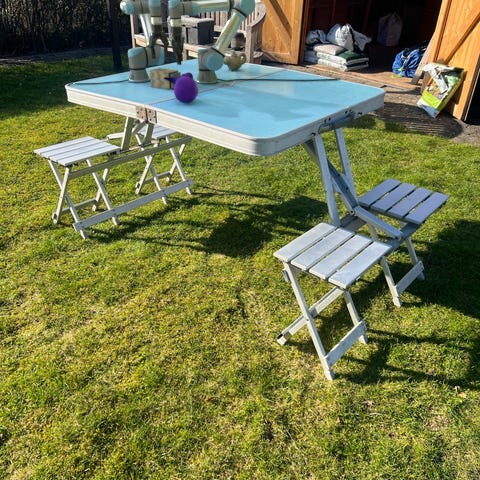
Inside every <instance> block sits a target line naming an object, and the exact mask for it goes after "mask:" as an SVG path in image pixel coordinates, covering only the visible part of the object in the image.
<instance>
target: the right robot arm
mask: <svg viewBox="0 0 480 480" xmlns="http://www.w3.org/2000/svg"><path fill="white" fill-rule="evenodd" d="M255 10H256V1H255V0H189V1H188V0H187V1H181V0H168V13H169V15H168V16H169V25H170V33H171V38H169V40H168V41H169V43H170V45H171V49H172V54H174V55H175V59H176V65H177V66H182V55H183V53H184V49H185V47H184V46H185V39H186V37H185V36H183V34H182V33H183V24H182V23H183V22H182V17H187V16H193V17H194V16H198V15H199V14H204V13H214V12H215V13H216V12H226V13H231V15H230V16H229V18H228V20H227V22H226V24H225V25H224V27H223V29H222V30H221V32H220V35H219V36H218V38H217V40H216V42H215V44H214V45H210V47H209V48H200V49H199V48H198V50H197V54H196V55H197V66H198V74H197V77H196V83H197V84H199V85H213V84H216V83H218V82H219V81H221V82H225V83H226V82H227V83H228V82H233V81H276V82H278V81H280V82H319V81H321V82H324V81H340V80H341V79H342V78H341V77H339V78H338V77H337V78H321V79H319V78H318V79H317V78H316V79H313V78H312V79H289V78H288V79H287V78H286V79H284V78H233V79H221V78H218V77H217V75H216V72H217V71H219V70H221V69H222V68H223V66H224V59H225V58H226V52H227V49H228V48H229V46H230V45H231V42H232V41H233V39H234V37H235V36H236V34H237V32H238V30H239V29H240V27H241V25H242V23H243V22H244V21H247V19H248V18H249V17H250V16H249V15H251V14H252V13H254V11H255Z"/></svg>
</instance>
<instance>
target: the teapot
mask: <svg viewBox="0 0 480 480" xmlns="http://www.w3.org/2000/svg"><path fill="white" fill-rule="evenodd" d="M241 58H242V59H241ZM246 63H247V55H246V52H241V53H239V54H238V53H237V52H236V50H232V53H231V54H230V57H229V56H225V58H224V63H223V65H225V66H227V69H228V70H229V71H231V72H233V71H234V72H235V71H238V70H239V69H241V68H242V67H243V65H245V64H246Z"/></svg>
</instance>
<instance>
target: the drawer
mask: <svg viewBox="0 0 480 480" xmlns="http://www.w3.org/2000/svg"><path fill="white" fill-rule="evenodd" d="M181 75H182V73H181V71H178V72H174V73H170V74H169V77H175V78H180V77H181ZM174 86H175V84H173V83H171V82H170V87H172V88H173V89H174Z"/></svg>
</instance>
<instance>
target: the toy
mask: <svg viewBox="0 0 480 480" xmlns="http://www.w3.org/2000/svg"><path fill="white" fill-rule="evenodd" d="M164 79H165V80H167V81H169V82H171V83H173V84H175V86H174V88H173V93H174V97H175V98H176V100H177V101H178V102H179V103H183V104H191V103H192V102H194V101H195V100H196V98H197V97H198V95H199V87H198V83H197V81H196V80H195V79H194V74H192V72H184V73H181V77H180V78H175V77H164Z"/></svg>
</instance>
